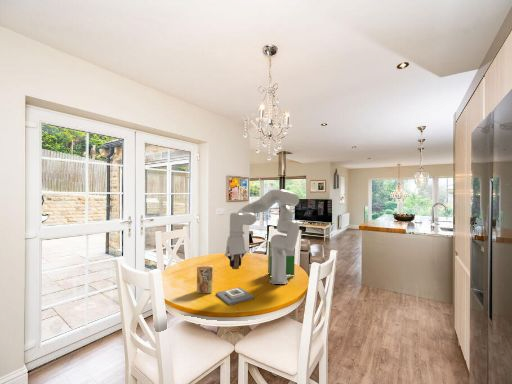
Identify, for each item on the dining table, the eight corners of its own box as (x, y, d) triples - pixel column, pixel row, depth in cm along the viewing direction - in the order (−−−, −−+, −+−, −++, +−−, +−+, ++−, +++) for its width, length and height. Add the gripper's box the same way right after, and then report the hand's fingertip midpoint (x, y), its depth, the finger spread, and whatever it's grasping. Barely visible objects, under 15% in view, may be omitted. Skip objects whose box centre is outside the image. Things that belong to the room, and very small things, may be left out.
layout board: (239, 288, 147) (239, 284, 147) (254, 298, 134) (254, 293, 134) (215, 294, 138) (216, 290, 138) (229, 305, 125) (229, 300, 125)
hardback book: (270, 277, 168) (270, 243, 169) (268, 274, 176) (268, 241, 176) (294, 276, 171) (294, 243, 171) (291, 273, 178) (291, 241, 178)
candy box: (212, 290, 144) (213, 265, 144) (211, 293, 140) (212, 267, 140) (197, 290, 144) (198, 265, 144) (196, 293, 139) (197, 267, 139)
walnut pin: (236, 266, 139) (236, 253, 139) (240, 268, 136) (240, 254, 136) (230, 267, 137) (230, 253, 137) (234, 269, 134) (234, 255, 134)
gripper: (244, 232, 145) (244, 262, 144) (220, 234, 135) (219, 266, 135) (251, 234, 138) (251, 265, 138) (226, 236, 129) (225, 270, 129)
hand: (235, 265), depth 137 cm, fingers closed on walnut pin, 4 cm apart
